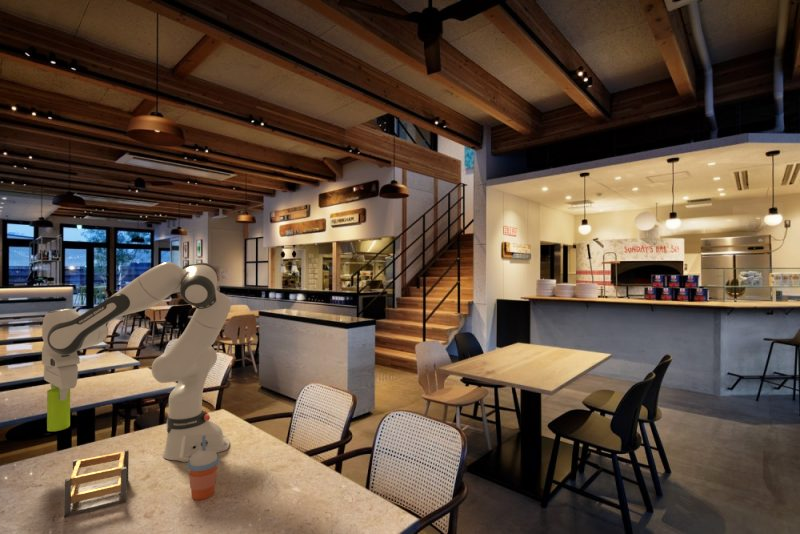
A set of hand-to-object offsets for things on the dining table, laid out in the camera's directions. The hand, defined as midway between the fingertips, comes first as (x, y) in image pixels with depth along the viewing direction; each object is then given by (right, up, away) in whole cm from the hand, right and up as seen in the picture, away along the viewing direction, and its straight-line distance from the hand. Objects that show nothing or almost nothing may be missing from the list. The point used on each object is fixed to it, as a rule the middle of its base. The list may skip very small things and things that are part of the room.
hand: (59, 397), depth 134 cm
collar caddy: (+24, -25, -14) cm, 38 cm away
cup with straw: (+55, -26, -12) cm, 62 cm away
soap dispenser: (0, -10, 0) cm, 10 cm away
